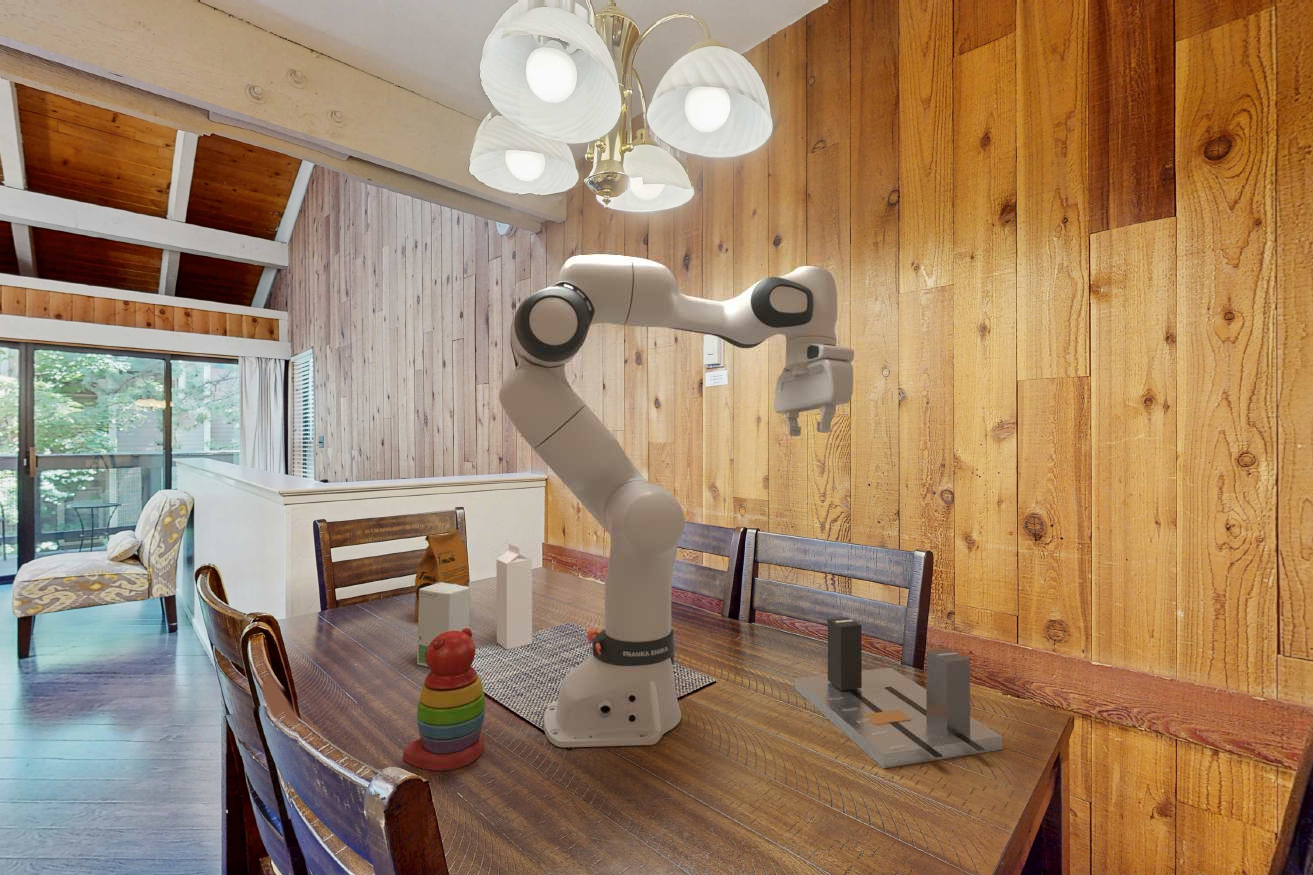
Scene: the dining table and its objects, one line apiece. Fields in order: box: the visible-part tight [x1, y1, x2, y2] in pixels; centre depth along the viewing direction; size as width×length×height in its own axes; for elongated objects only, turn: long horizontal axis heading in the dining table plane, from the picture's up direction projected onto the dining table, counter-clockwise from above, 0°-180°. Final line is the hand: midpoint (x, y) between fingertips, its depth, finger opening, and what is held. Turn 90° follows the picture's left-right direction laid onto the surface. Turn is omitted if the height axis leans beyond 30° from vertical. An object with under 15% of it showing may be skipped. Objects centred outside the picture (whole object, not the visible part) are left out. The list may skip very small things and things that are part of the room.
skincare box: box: [416, 582, 471, 668], centre depth 118 cm, size 8×7×16 cm
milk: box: [496, 543, 533, 651], centre depth 129 cm, size 6×6×22 cm
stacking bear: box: [403, 627, 486, 771], centre depth 84 cm, size 11×10×18 cm
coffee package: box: [414, 529, 470, 623], centre depth 147 cm, size 10×12×22 cm
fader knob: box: [827, 617, 863, 690], centre depth 102 cm, size 4×4×11 cm
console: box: [794, 648, 1003, 769], centre depth 94 cm, size 20×28×13 cm
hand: (808, 434), depth 103 cm, fingers open, 8 cm apart
